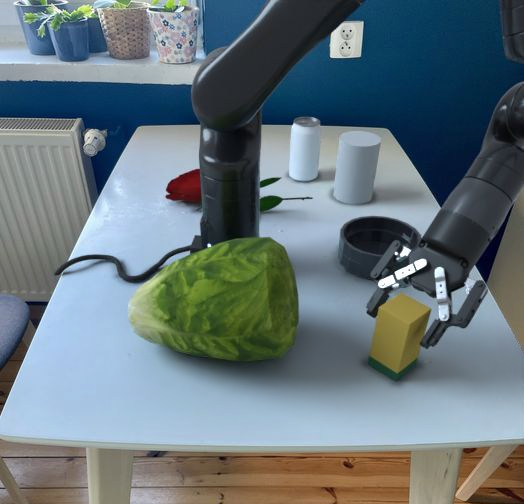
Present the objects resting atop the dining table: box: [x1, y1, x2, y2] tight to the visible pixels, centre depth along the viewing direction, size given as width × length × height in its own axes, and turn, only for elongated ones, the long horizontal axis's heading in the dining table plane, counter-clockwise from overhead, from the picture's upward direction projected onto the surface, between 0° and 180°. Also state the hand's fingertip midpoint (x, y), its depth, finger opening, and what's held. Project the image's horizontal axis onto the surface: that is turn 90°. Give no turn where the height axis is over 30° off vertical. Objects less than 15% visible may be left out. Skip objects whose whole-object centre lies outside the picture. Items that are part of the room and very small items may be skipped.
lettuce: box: [127, 236, 300, 362], centre depth 73 cm, size 17×23×16 cm
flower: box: [164, 168, 314, 213], centre depth 106 cm, size 9×10×30 cm
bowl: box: [337, 215, 422, 281], centre depth 94 cm, size 14×14×5 cm
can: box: [288, 116, 322, 183], centre depth 117 cm, size 6×6×12 cm
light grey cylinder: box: [333, 130, 382, 205], centre depth 110 cm, size 8×8×12 cm
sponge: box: [367, 292, 433, 382], centre depth 72 cm, size 5×5×10 cm
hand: (396, 330), depth 71 cm, fingers open, 8 cm apart
